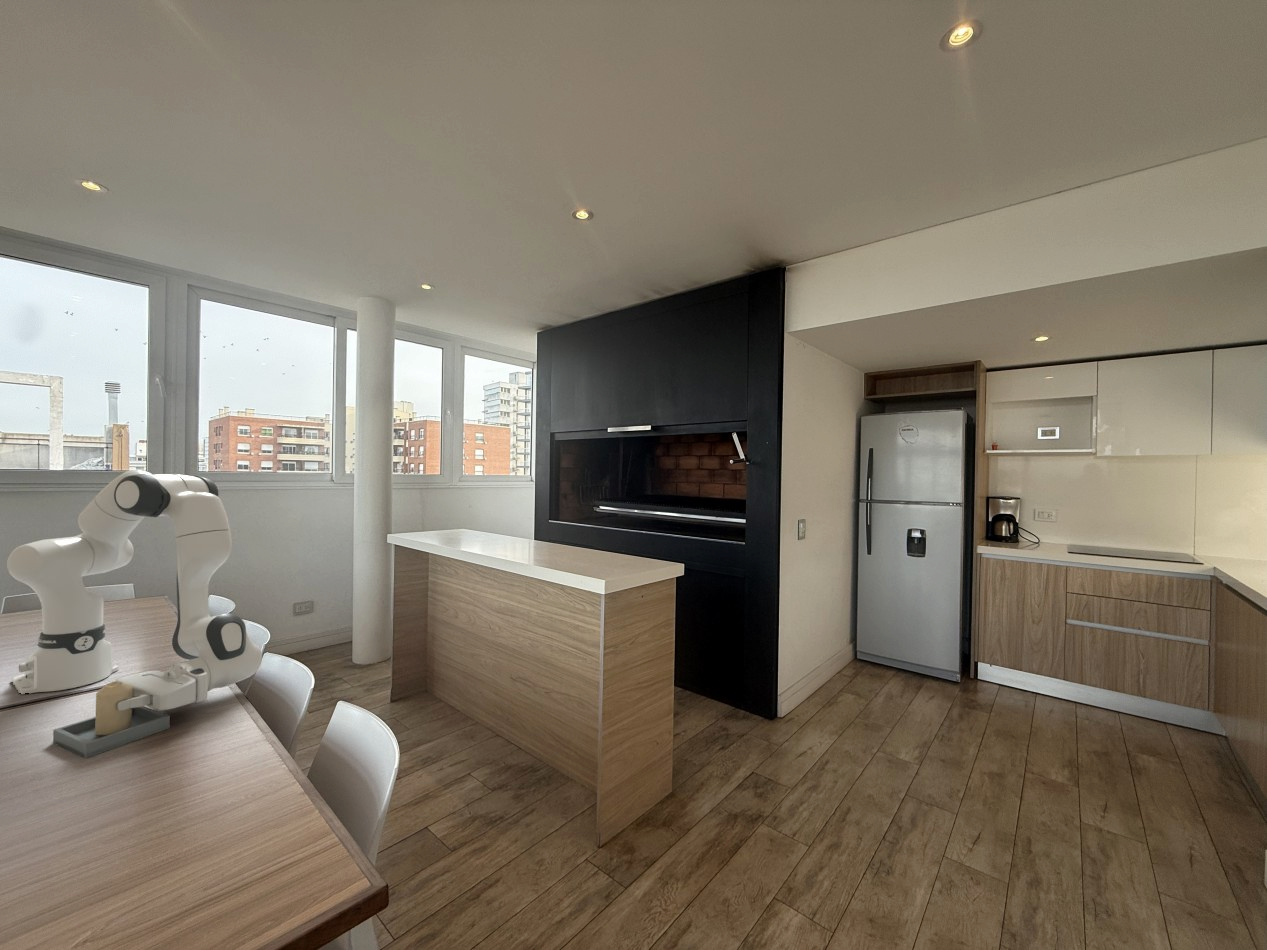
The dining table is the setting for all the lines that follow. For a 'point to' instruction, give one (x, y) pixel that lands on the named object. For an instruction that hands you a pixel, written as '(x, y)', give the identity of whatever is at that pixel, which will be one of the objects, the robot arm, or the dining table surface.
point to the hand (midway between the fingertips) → (108, 703)
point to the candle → (112, 708)
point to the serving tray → (89, 744)
